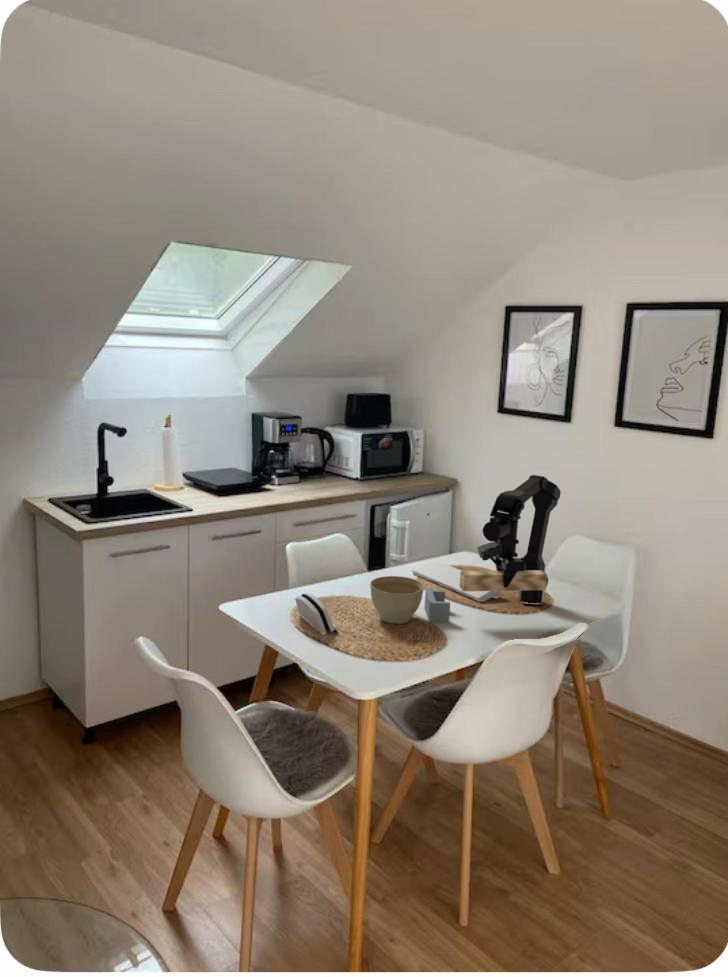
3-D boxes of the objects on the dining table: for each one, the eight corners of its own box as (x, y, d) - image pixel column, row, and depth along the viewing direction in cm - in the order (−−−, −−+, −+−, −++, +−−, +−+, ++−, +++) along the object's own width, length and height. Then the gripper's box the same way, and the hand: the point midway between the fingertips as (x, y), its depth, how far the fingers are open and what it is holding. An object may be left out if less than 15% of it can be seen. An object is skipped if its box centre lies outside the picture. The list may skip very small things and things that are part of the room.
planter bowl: (360, 623, 222) (362, 588, 220) (378, 606, 237) (380, 573, 235) (413, 632, 217) (415, 596, 214) (428, 614, 231) (430, 580, 229)
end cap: (443, 608, 237) (444, 590, 236) (448, 622, 225) (450, 603, 224) (424, 607, 237) (425, 589, 236) (429, 621, 225) (430, 602, 224)
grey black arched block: (339, 632, 214) (329, 603, 210) (325, 640, 212) (315, 610, 209) (314, 613, 228) (305, 585, 225) (301, 620, 226) (291, 591, 223)
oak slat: (540, 585, 232) (542, 570, 231) (545, 590, 228) (547, 574, 227) (459, 587, 228) (460, 571, 227) (463, 591, 224) (464, 575, 223)
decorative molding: (480, 610, 245) (501, 598, 250) (478, 598, 243) (499, 585, 248) (413, 581, 272) (434, 570, 277) (411, 569, 270) (432, 559, 275)
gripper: (471, 527, 233) (468, 575, 236) (491, 543, 215) (487, 595, 218) (506, 527, 234) (502, 575, 238) (528, 543, 216) (524, 595, 219)
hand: (503, 584), depth 228 cm, fingers closed on oak slat, 4 cm apart
